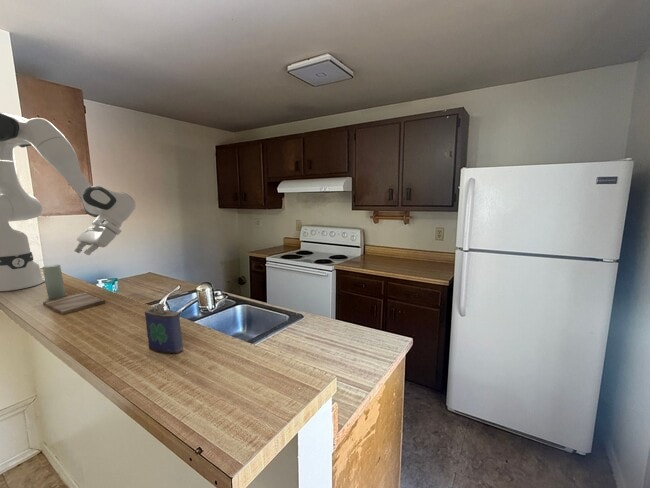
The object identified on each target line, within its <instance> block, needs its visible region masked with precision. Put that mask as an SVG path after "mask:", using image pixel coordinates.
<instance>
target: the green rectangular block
mask: <svg viewBox="0 0 650 488" xmlns="http://www.w3.org/2000/svg"><path fill="white" fill-rule="evenodd" d="M42 271H43V276H44V277H43V278H45V282H44V283H45V286H46V287H45V288H46V291H47V297H48V299H49V300H54V299H59V298H63V297H67V296H66V295H67V294H66V288H65V284H64V278H63V274H62V267H61V265H60V264H49V265H45V266H43V267H42Z"/></svg>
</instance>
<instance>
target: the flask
mask: <svg viewBox="0 0 650 488" xmlns="http://www.w3.org/2000/svg"><path fill="white" fill-rule="evenodd" d="M164 310H165V304H164V303H162V304H157V305H156V304H155V305H154V307H153V308H149V309H145V311H144V317H145V324H146V335H147V341H148V342H147V343H148V350H149V351H150V352H151V351H152V352H155V353H158V354H159V353H162V354H167V355H178V354H181V353H182V352H184V344H183V337H182V329H181V321H180V312H179V311H173V312H169V311H164Z"/></svg>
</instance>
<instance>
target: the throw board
mask: <svg viewBox="0 0 650 488" xmlns="http://www.w3.org/2000/svg"><path fill="white" fill-rule="evenodd" d="M105 303H106V300H105V299H103V298H100V297H96V296H94V295H92V294H89V293H87V292H80V293H79V292H78V293H76V294H71V295H68V296H64V297H61V298H57V299H49V300H47V301H42V304H43V306H45V307H46V308H48V309H51V310H53V311H55V312H57V313H59V314H61V315H66V314H71V313H74V312H78V311H80V310H84V309H88V308H92V307H95V306H98V305H102V304H105Z"/></svg>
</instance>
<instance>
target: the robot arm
mask: <svg viewBox="0 0 650 488" xmlns="http://www.w3.org/2000/svg"><path fill="white" fill-rule="evenodd" d="M30 146H31V147H32V146H33V148H34V149H35V150H36V151H37V152H38V154H39V155H40V156H41V157H42V158H43V159H44V160H45V161H46V162H47V163H48V164H49V165H50V166H51V167H52V168H53V169H55V170H56V172H57V173H59V174H60V175H61V177H63V179H65V181H67V183H68V184H69V185H70V187H71V188H72V189H73V190H74V192H75V194H77V195H78V197H79V198H80V199H81V203H82V206H83V210H84V212H85V213H86V214H87V215H89V216H91V217H93V218H95V219H94V220H93V221H92V222H91V225H92V226H88V227H87V228H86V229H84V231H83V232H81V233H80V234H79V236H77V239H76V241H77V242H78V244H77V246H76V247H75V249H74V252H75V253H77V254H80V253H81V252H82V251H83V249H84V248H85V247H86V246H89V247H88V248H86V249H85V250H84V251H83V253H84V254H85V255H87V256H90V255H91V254H92V253H93V252H95V251H96V250H98V249H99V248H105V247H107V246H108V245H109V244H110V243H111V242H112V241H113V240H114V239H115V238H116V236H118V235H120V234H121V232H122V229H120V227H122V224H123V222H125V221H126V220H128V218H129V217H130V216H132V213H134V211H135V209H136V202H135V199H133V197H131V196H130V195H129V194H128V193H127V192H126V193H125V192H119V191H118V192H117V191H113V190H110V189H106V188H105V187H102V186H100V185H99V186H98V185H92V184H91V183H90V182H89V181H88V180H87V178H86V177H85V175H84V173H83V172H82V168H81V167H80V163H79V159H78V155H77V153H76V151H75V149H74V147H73V146H72V144H71V143H70V142H69V139H67V138H66V137H65V135H64V134H63V133H62V132H61V131H60V130H59V129H58V128H57V127H56V126H54V124H53V123H51V122H50V121H49V120H48V119H45V118H42V117H32V118H25V117H21V116H19V115H15V114H9V113H2V112H0V292H8V291H10V292H11V291H16V290H21V289H22V290H23V289H26V288H30V287H31V288H32V287H34V286H38V285H40V284H42V283H46V282H45V277H43V275H42V271H41V268H40V264H39V263H37V262H35V260H34V254H33V252H32V251H31V248H30V243H29V238H28V235H26V233H25V232H23V231H20V230H18V229H13V228H12V226H11V225H10V223H9V222H19V221H28V220H32V219H35V218H38V217H39V216H40V215H41V213H42V211H43V206H42V204H41V201H40V200H39V199H38V198H37V197H35V196H33V195H32V194H30V193H29V192H27V191H26V189H25V188H24V187H23V185H22V184H21V182H20V179H19V175H18V172H17V171H18V170H17V167H16V160H15V159H16V158H15V154H14V153H15V152H14V151H15V149H16V148H17V147H20V148H26V147H30Z"/></svg>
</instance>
